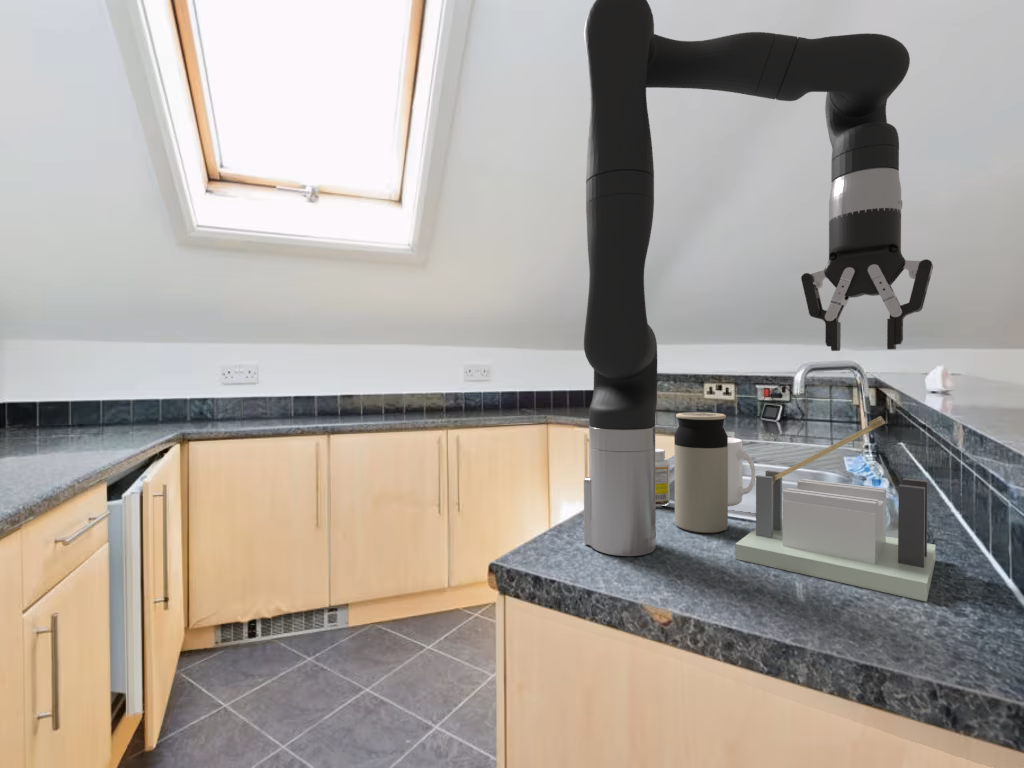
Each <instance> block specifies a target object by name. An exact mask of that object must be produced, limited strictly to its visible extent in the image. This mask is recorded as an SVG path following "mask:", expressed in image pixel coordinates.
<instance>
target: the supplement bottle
mask: <svg viewBox="0 0 1024 768" xmlns="http://www.w3.org/2000/svg"><path fill="white" fill-rule="evenodd" d="M670 475H671V474H670V462H669V461H668V460H667V459H666V451H665V449H662V448H655V476H656V506H662V505H665V504H667V503H669V502H671V496H670V492H671V491H670V489H671V488H670V487H671V486H670V480H671V479H670ZM669 504H670V503H669Z"/></svg>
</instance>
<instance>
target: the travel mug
mask: <svg viewBox="0 0 1024 768" xmlns="http://www.w3.org/2000/svg"><path fill="white" fill-rule="evenodd" d="M675 415H676V416H675V417H676V418H677V422H678V423H677V424H678V427H677V428H676V431H675V433H674V442H673V443H674V524H675V525H676V526H677V527H678V528H680V529H682V530H684V531H688V532H692V533H697V534H717V533H721V532H723V531H726V530H728V527H729V525H728V524H729V521H728V520H729V519H728V518H729V517H728V516H729V513H728V512H729V510H728V509H729V506H728V434H727V431H726V430H725V428H724V422H725V419H726V418H727V415H726V414H724V413H717V412H696V411H695V412H679V413H677V414H675Z"/></svg>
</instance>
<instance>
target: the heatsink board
mask: <svg viewBox="0 0 1024 768" xmlns="http://www.w3.org/2000/svg"><path fill="white" fill-rule="evenodd" d="M780 472H781V471H776V470H765V475H762V474H761V475H759V474H757V475H755V529H753V530H752V531H750V532H749V533H748V534H746V535H744V537H742V538H741V539H740V540H738V541H737V542H736V543H735V544H734V551H735V552H734V555H735V556H734V559H735V560H738V561H742V562H743V561H744V562H748V563H753V564H756V565H757V564H758V565H760V566H761V565H762V566H766V567H771V568H775V569H779V570H783V571H789V572H792V573H795V574H801V575H806V576H810V577H815V578H819V579H824V580H828V581H831V582H832V581H833V582H837V583H841V584H845V585H850V586H855V587H859V588H863V589H868V590H873V591H877V592H882V593H887V594H890V595H895V596H899V597H904V598H908V599H913V600H917V601H922V602H928V597H929V593H930V588H931V583H932V580H933V574H934V568H935V565H936V557H937V556H936V551H937V548H936V544H933V543H928V509H929V507H928V506H929V505H928V502H929V500H928V499H929V498H928V497H929V495H928V493H929V487H928V486H929V480H925V479H924V480H923V479H917V478H916V479H915V478H905V477H904V478H902V484H898V512H897V513H898V519H897V520H898V522H897V523H898V526H897V528H898V532H897V537H892V536H887V488H882V487H875V486H865V485H858V484H857V485H856V484H849V483H841V482H840V483H839V482H832V481H822V480H815V479H805V478H800V479H799V480H798V481H797V488H791V487H787V488H785V489H784V490H783V477H781V478H780V479H778V480H777V481H776V483H774V484H773V477H769V476H770V475H773V476H775V475H777V474H779V473H780Z"/></svg>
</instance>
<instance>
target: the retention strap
mask: <svg viewBox="0 0 1024 768" xmlns="http://www.w3.org/2000/svg"><path fill="white" fill-rule="evenodd" d="M886 423H887V422H886V421H885V419H884V418H883V416H881V415H879V416H877V417H875V418H874V419H872V420H870V421H869V422H867V424H868V425H867V426H866V427H864V428H862V429H860V430H858V431H857V432H856V431H855V433H853V434H851V435H849V436H847V437H845V438H843V439H841V440H840V441H839V440H838V441H837V442H835V443H834V444H832V445H830V446H827V447H826V448H825V449H822V450H821V451H818V452H816V453H815V454H812V455H810V456H809V457H807V458H805V459H803V460H801V461H799V462H798V463H795V464H794V465H791V466H790V467H788V468H786V469H784V470H783V471H779V472H780V473H779V474H777V475H775V476H773V475H770V476H769V477H773V484H774V483H776V481H777V480H778V479H780V478H781V477H782V478H783V477H785V476H787V475H789V474H792V473H793V472H794V471H797V470H799V469H801V468H802V467H805V466H806V465H808V464H810V463H813V462H814V461H816V460H818V459H819V458H822V457H824V456H825V455H827V454H829V453H831V452H833V451H835V450H837V449H839V448H841V447H842V446H845V445H847V444H849V443H850V442H853V441H855V440H856V439H858V438H860V437H862V436H864V435H866V434H867V433H869V432H871V431H874V430H875V429H877V428H879V427H881V426H883V425H885V424H886Z"/></svg>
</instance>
